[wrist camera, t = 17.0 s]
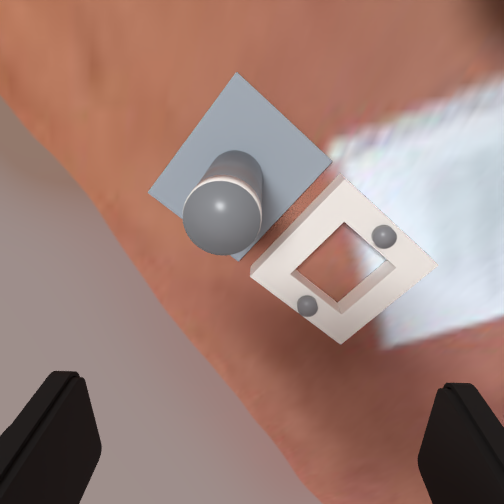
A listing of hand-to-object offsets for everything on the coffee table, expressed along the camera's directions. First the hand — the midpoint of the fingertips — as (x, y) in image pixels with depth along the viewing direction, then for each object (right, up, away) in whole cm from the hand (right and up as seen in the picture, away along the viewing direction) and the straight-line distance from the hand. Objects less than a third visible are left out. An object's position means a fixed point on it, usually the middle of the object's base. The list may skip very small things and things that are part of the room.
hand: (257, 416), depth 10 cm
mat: (-1, +11, +20) cm, 23 cm away
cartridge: (-2, +11, +20) cm, 23 cm away
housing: (+8, +4, +23) cm, 25 cm away
